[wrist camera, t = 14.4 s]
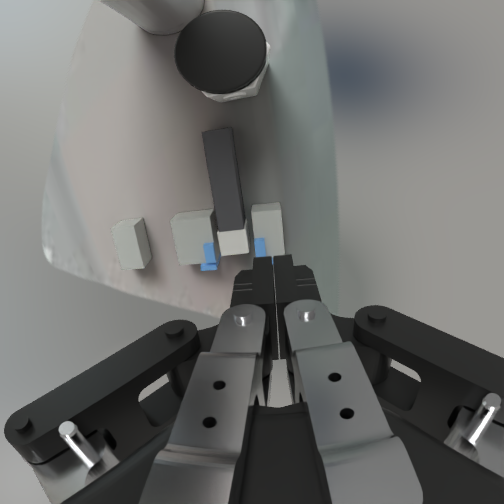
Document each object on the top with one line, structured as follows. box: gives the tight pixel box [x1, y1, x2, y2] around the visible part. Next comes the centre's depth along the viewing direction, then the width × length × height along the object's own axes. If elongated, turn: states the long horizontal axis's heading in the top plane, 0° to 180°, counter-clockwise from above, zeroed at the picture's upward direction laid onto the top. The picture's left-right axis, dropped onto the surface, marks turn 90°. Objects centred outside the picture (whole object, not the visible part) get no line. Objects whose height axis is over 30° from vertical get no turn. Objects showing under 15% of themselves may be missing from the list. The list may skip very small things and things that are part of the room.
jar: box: [174, 10, 270, 103], centre depth 29 cm, size 9×8×12 cm
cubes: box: [111, 202, 285, 271], centre depth 41 cm, size 7×22×4 cm, turn 96°
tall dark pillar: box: [202, 127, 250, 256], centre depth 38 cm, size 15×3×4 cm, turn 8°
